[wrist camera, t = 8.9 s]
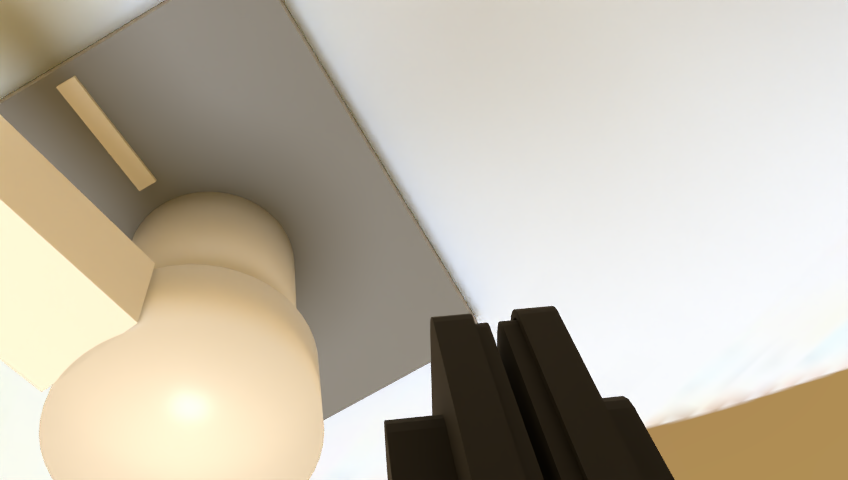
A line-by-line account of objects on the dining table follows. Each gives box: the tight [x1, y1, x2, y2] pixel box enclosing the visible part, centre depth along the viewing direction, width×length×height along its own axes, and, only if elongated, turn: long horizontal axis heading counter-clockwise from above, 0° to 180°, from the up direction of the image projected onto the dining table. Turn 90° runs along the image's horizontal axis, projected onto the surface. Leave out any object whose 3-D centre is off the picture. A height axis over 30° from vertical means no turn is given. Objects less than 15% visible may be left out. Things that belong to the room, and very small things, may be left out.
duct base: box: [0, 0, 478, 420], centre depth 32 cm, size 17×20×9 cm
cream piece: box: [0, 115, 324, 480], centre depth 24 cm, size 18×8×4 cm, turn 34°
